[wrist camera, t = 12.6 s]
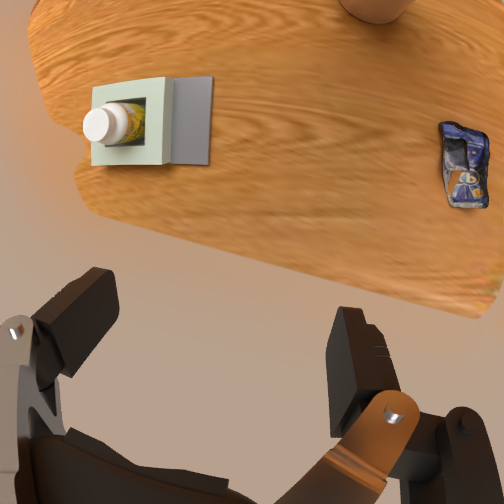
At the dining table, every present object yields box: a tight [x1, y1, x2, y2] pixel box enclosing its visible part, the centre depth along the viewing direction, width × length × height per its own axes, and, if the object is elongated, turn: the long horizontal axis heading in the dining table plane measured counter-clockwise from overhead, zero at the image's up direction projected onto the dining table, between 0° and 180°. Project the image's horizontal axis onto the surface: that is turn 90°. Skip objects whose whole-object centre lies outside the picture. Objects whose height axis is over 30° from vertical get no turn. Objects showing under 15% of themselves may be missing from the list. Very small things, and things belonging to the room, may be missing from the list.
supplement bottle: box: [83, 103, 146, 145], centre depth 31 cm, size 5×5×10 cm
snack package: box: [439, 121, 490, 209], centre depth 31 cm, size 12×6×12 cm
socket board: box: [91, 76, 214, 166], centre depth 35 cm, size 12×17×4 cm
